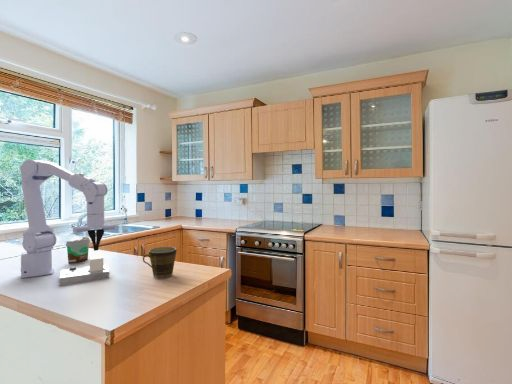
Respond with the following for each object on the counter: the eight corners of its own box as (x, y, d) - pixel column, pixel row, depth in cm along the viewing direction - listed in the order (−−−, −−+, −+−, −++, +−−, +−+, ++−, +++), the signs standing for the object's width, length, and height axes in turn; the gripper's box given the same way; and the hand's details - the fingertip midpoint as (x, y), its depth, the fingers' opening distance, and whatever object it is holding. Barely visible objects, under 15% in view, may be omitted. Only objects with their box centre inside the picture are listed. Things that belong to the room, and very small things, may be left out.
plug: (90, 276, 105) (89, 259, 104) (89, 273, 109) (89, 256, 109) (103, 274, 107) (103, 258, 107) (102, 271, 112) (102, 255, 112)
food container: (80, 264, 124) (79, 241, 124) (66, 264, 125) (65, 241, 124) (96, 257, 137) (96, 236, 137) (83, 257, 137) (83, 236, 137)
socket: (59, 285, 97) (59, 276, 97) (61, 276, 107) (61, 268, 107) (109, 278, 105) (108, 269, 105) (106, 270, 115) (106, 262, 115)
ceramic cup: (167, 270, 114) (166, 245, 114) (182, 275, 108) (182, 249, 108) (136, 278, 104) (135, 251, 104) (150, 284, 98) (150, 255, 98)
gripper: (72, 215, 100) (73, 254, 101) (118, 213, 108) (118, 249, 108) (72, 214, 106) (73, 250, 107) (116, 212, 114) (116, 246, 114)
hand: (96, 250), depth 108 cm, fingers closed
